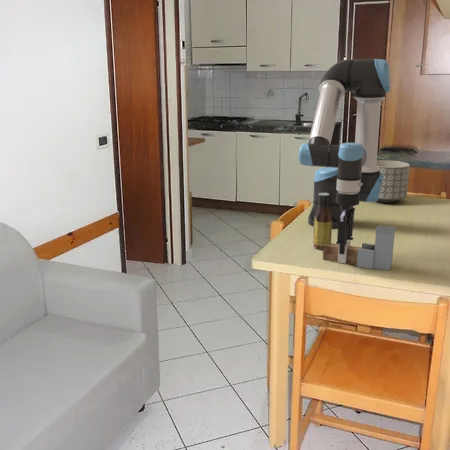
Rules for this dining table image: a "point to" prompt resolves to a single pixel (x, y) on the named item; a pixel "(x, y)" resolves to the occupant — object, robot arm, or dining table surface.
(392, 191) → the planter
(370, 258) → the grey notched block
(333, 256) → the rail
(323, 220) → the sauce bottle
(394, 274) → the dining table surface
